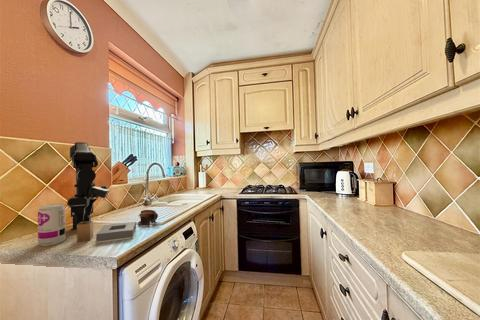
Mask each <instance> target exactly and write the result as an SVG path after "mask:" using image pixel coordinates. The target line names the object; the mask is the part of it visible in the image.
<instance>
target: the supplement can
mask: <svg viewBox="0 0 480 320" xmlns="http://www.w3.org/2000/svg"><path fill="white" fill-rule="evenodd" d="M66 238H67V237H66V207H65V205H64V204H63V203H55V204H47V205H42V206H40V207H39V209H38V210H37V240H38V241H37V244H38V245H39V246H41V247H50V246H49V245H51V246H55V245H58V244H60V243H63V242H64V241H65V240H66Z"/></svg>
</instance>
